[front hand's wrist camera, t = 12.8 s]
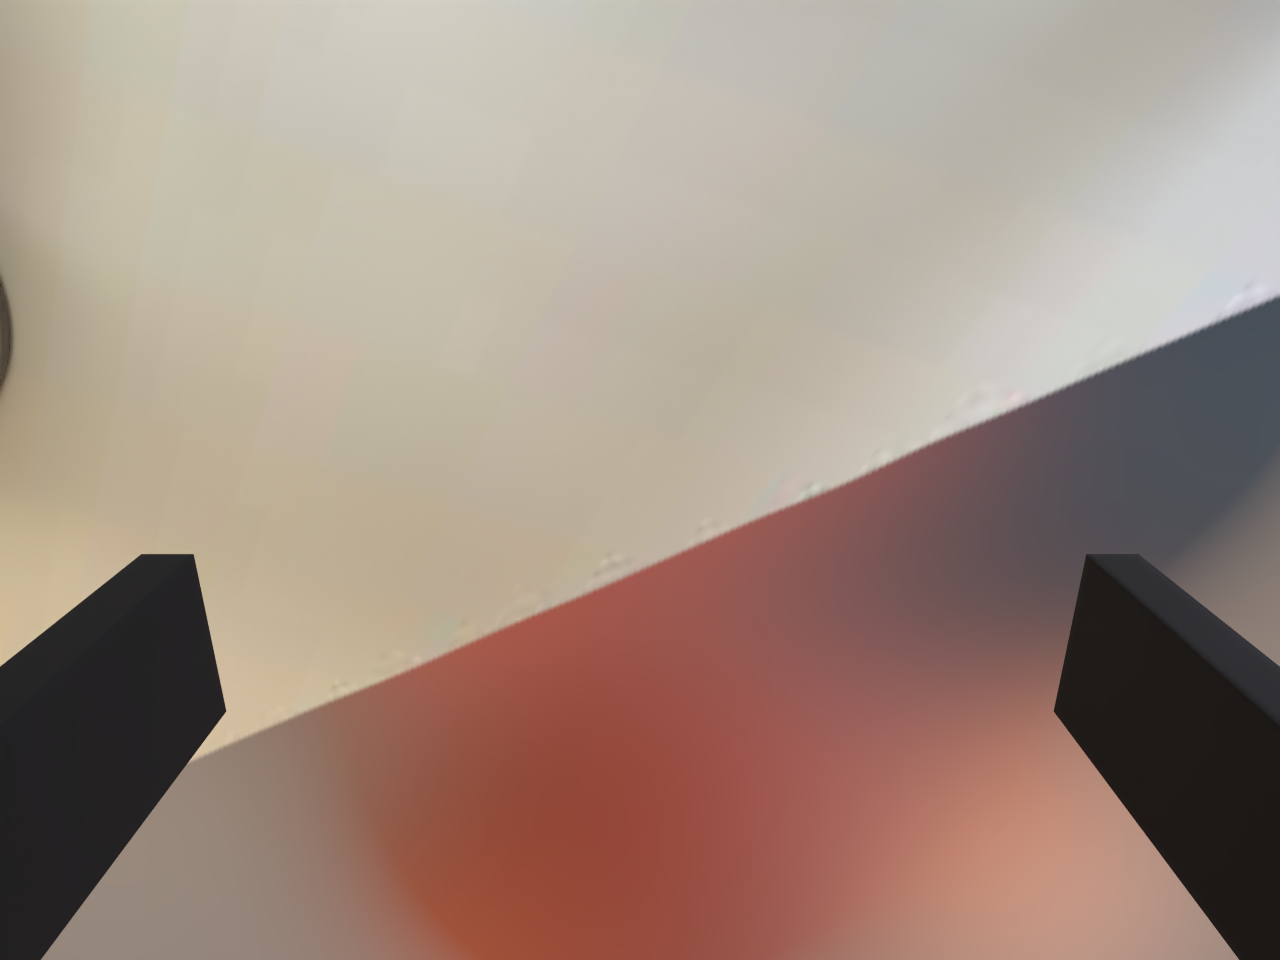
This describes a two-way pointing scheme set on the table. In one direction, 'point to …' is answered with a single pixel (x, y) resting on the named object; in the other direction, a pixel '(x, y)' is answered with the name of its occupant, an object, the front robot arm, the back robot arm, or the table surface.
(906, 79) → the table surface
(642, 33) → the table surface
